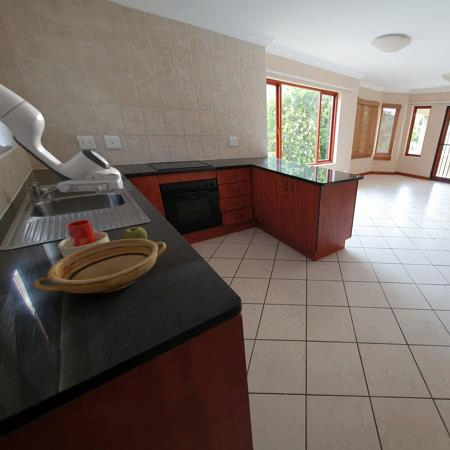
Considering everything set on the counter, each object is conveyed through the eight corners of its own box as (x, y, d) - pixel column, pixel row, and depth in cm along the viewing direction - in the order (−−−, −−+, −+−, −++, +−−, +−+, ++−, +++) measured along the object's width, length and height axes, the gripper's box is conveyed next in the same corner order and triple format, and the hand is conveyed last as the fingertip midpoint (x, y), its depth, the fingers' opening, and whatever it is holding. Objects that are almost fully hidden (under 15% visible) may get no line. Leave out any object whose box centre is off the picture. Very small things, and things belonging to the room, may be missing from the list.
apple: (124, 253, 84) (118, 235, 81) (127, 244, 90) (122, 226, 87) (148, 248, 87) (144, 231, 84) (150, 240, 93) (145, 223, 91)
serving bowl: (53, 262, 77) (48, 250, 76) (75, 244, 89) (71, 233, 87) (101, 257, 81) (97, 245, 79) (116, 240, 93) (113, 230, 91)
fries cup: (72, 254, 81) (62, 227, 78) (82, 246, 87) (72, 220, 83) (93, 251, 83) (84, 225, 79) (101, 244, 88) (92, 219, 85)
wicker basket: (51, 333, 51) (35, 304, 48) (39, 287, 66) (27, 262, 63) (185, 274, 72) (181, 251, 69) (154, 249, 87) (149, 229, 83)
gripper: (66, 175, 98) (44, 182, 86) (123, 173, 104) (111, 180, 92) (71, 190, 100) (51, 199, 88) (127, 188, 106) (115, 195, 94)
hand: (82, 189), depth 90 cm, fingers open, 8 cm apart
